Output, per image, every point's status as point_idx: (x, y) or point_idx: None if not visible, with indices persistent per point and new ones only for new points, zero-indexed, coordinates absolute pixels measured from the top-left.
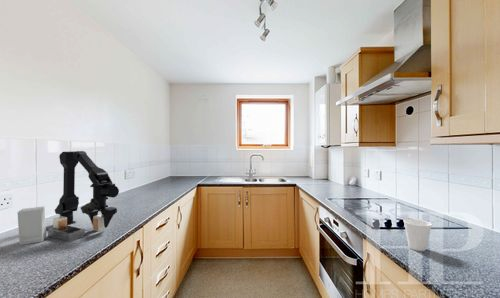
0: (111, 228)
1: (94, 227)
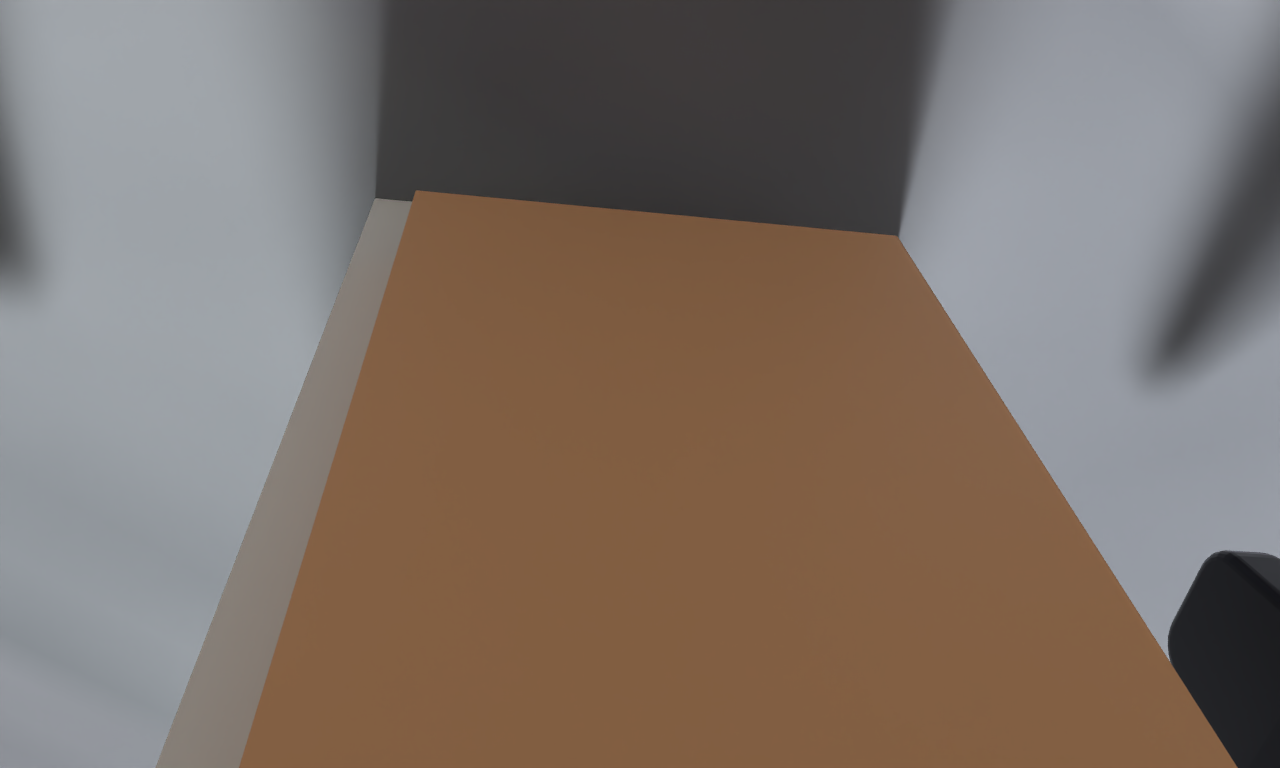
0: (141, 692)
1: (737, 260)
